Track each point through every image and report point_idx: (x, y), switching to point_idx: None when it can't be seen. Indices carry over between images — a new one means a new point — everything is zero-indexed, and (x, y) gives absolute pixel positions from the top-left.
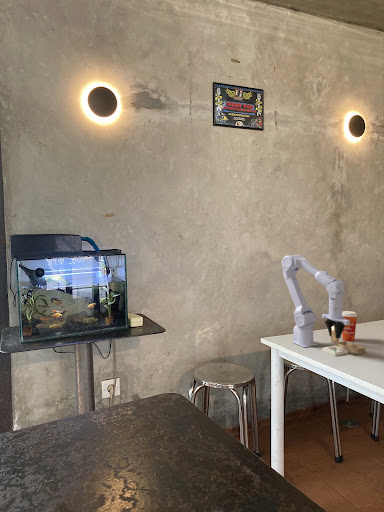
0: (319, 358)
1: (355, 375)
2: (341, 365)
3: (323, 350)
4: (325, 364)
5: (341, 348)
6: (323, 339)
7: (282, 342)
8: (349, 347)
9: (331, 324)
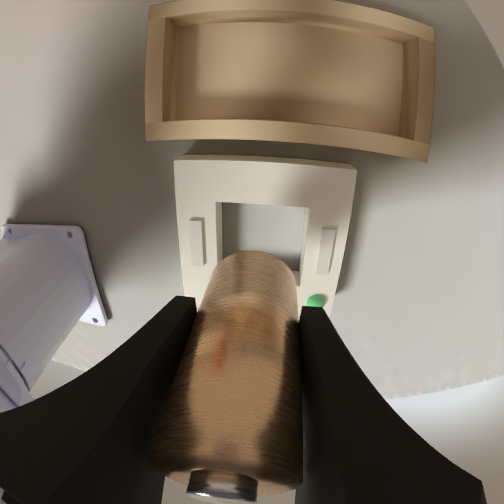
0: None
1: (484, 373)
2: (423, 361)
3: None
4: None
5: (284, 185)
6: (9, 95)
7: None
8: (342, 131)
9: (144, 487)
